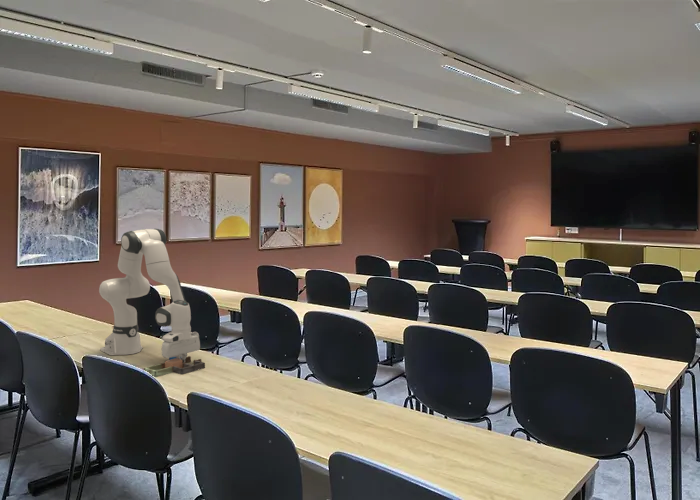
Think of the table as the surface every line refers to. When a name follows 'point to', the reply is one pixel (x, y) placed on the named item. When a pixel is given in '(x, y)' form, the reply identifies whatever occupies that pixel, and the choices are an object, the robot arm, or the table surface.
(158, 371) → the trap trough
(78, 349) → the table surface
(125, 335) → the robot arm
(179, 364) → the block
